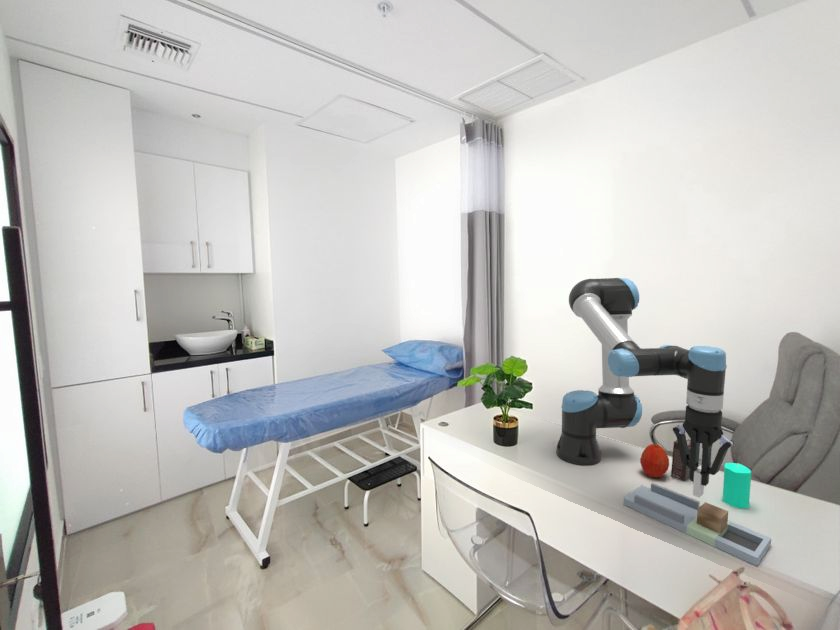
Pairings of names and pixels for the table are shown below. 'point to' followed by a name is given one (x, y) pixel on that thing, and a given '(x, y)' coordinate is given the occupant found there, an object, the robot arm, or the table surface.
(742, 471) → the candle
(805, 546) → the table surface
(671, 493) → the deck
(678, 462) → the box
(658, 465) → the apple
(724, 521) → the block
